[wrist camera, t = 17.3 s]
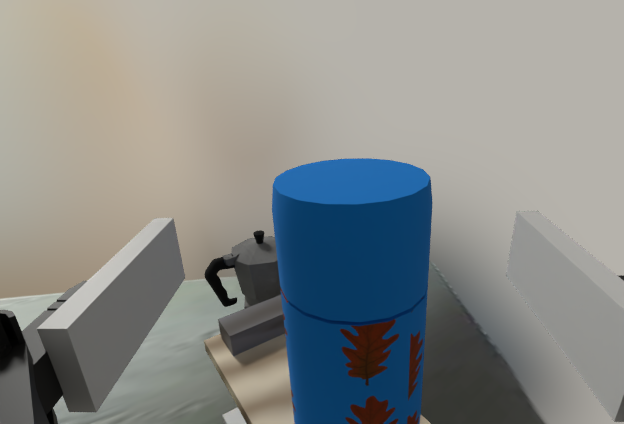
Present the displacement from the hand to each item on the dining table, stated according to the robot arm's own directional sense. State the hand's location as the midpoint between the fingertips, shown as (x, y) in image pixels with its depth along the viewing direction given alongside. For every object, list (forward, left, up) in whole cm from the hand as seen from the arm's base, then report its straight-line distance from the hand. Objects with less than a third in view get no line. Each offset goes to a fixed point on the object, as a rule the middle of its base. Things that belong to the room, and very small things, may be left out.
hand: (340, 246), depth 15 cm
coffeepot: (-38, +11, -35) cm, 53 cm away
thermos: (-9, +8, -26) cm, 29 cm away
